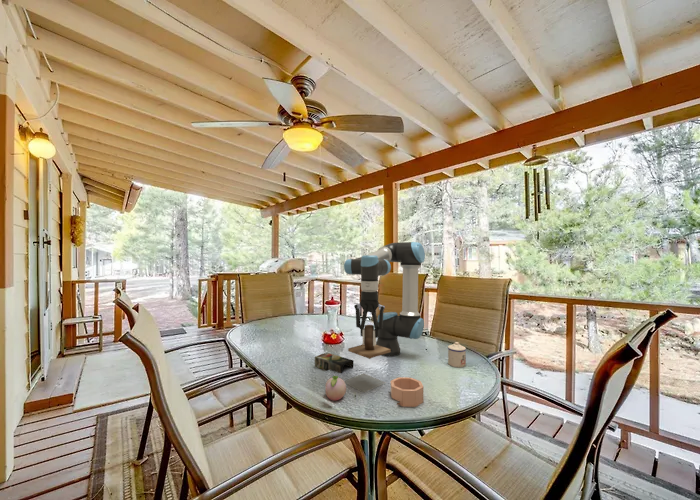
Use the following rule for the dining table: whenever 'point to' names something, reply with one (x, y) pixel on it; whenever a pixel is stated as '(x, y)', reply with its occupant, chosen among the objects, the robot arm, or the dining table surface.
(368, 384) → the mat
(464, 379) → the dining table surface
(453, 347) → the teacup with lid
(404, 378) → the bowl
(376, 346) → the lid
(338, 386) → the decorative fruit
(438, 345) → the dining table surface
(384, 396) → the dining table surface
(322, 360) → the juice carton
